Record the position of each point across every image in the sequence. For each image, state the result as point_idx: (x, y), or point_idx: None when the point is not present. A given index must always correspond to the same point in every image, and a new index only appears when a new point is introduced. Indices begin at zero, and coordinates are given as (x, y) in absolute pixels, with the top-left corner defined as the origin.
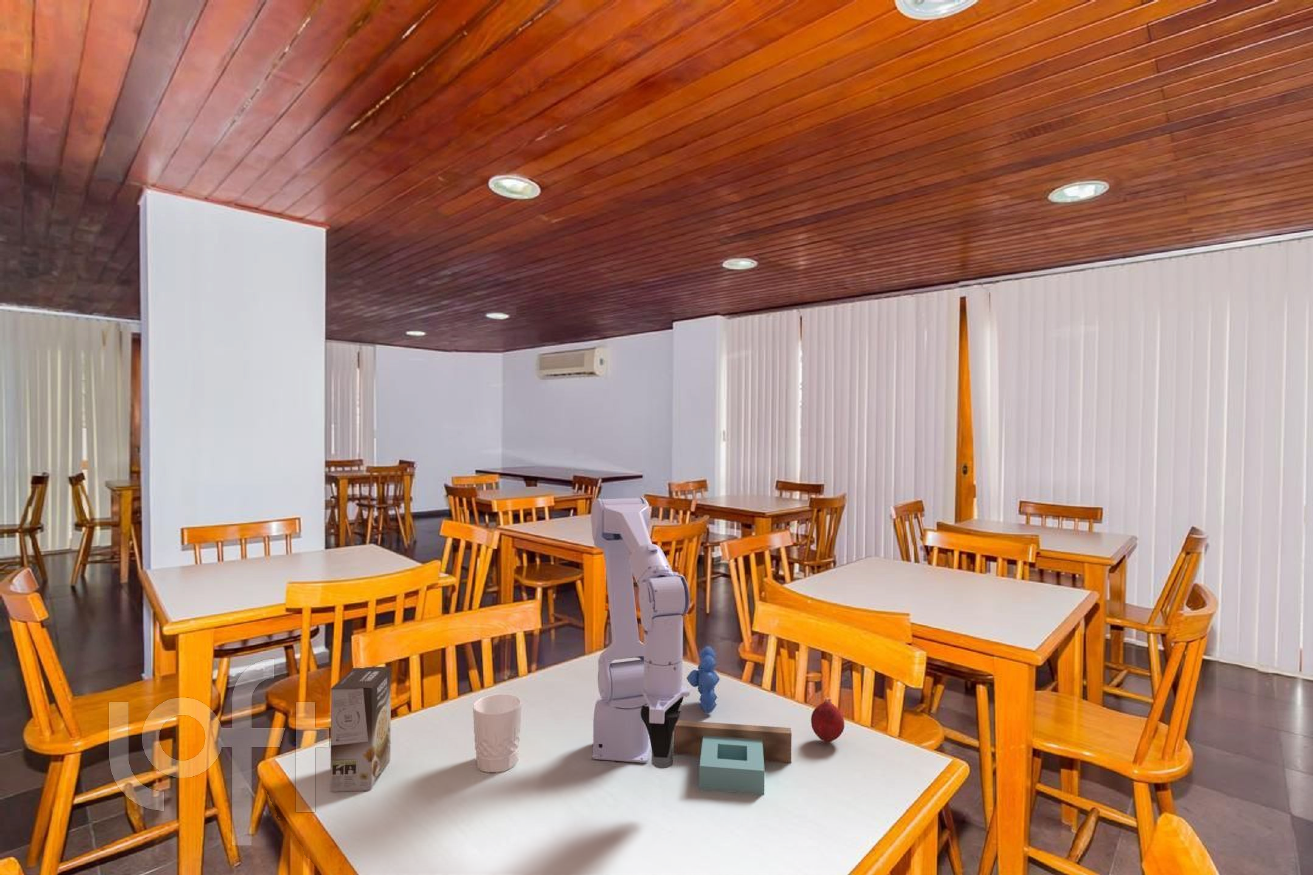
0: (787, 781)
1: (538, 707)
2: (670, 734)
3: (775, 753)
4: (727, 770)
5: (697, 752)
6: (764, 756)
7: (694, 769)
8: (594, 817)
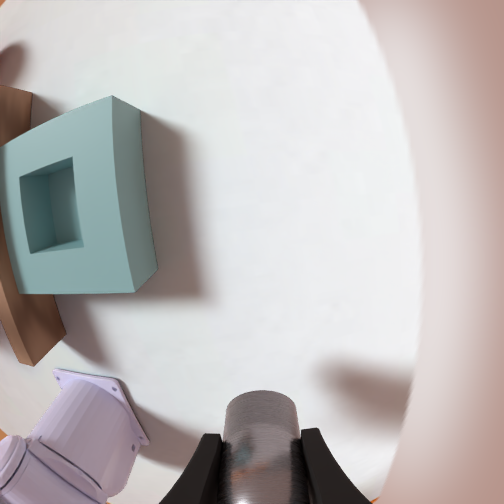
0: (87, 77)
1: None
2: (365, 497)
3: (19, 120)
4: (122, 206)
5: None
6: None
7: None
8: (307, 419)
